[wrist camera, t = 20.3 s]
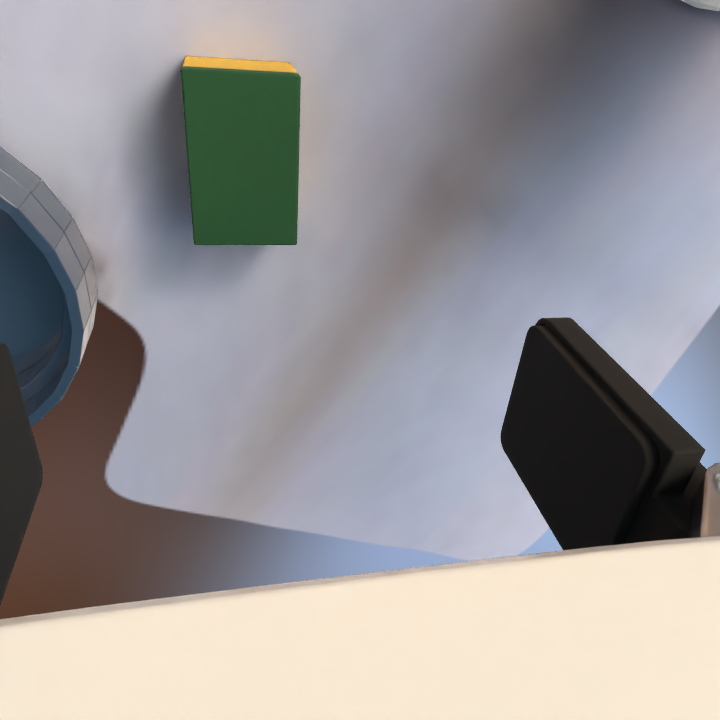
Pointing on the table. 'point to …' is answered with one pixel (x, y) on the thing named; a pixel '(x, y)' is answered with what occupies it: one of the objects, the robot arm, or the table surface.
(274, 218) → the sponge
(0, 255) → the bowl
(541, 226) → the table surface
